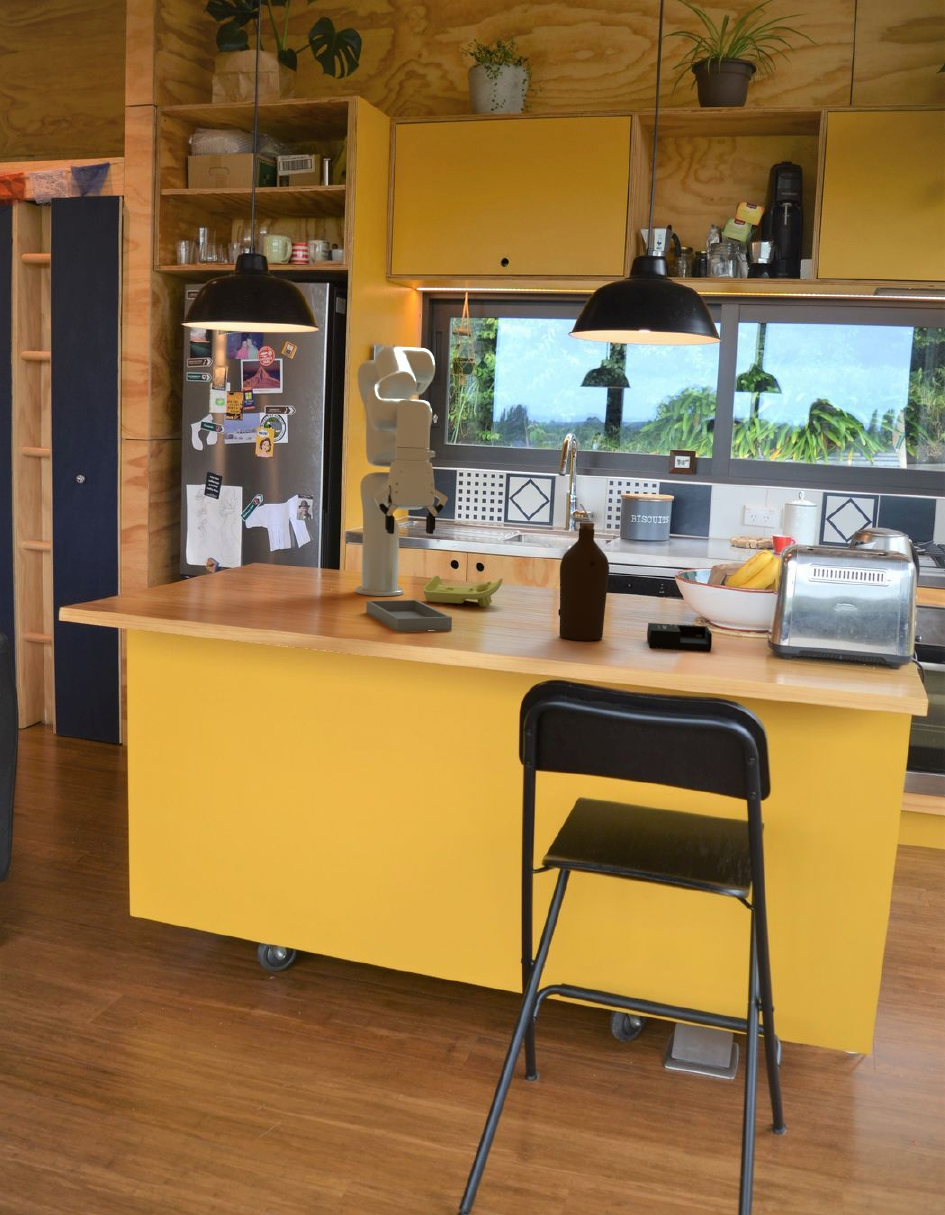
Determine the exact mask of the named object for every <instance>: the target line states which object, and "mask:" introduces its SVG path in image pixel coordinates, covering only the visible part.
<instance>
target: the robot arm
mask: <svg viewBox="0 0 945 1215" xmlns="http://www.w3.org/2000/svg"><path fill="white" fill-rule="evenodd" d="M435 373H436V362H435V357H434V355H433V353H432V352H431V351H430V350H429V349H427V348H424V347H416V346H415V347H413V346H397V345H396V346H395V345H394V346H387V347H384V348H382V349H381V350H379V352H378V353H377V355H376V356H375V359H370V360H365V361H363V362H362V363H360V365H359V366H358V368H357V387H358V390H359V391H358V392H359V395H360V399H361V401H362V403H363V407H364V411H365V455H366V459H367V462H368V463H369V465H371V466H374V467H380V468H381V467H382V468H389V471H387V472H386V471H374V472H370V473H367V474H366V475H364V476H363V478H361V481H360V484H359V485H360V489H359V490H360V491H359V492H360V499H361V506H362V553H361V554H362V556H361V558H362V560H361V585H360V586H356V587H355V593H356V594H359V595H364V596H373V597H391V596H392V597H394V596H400V595H403V594H405V592H404V590H405V589H404V588H402V587H399V558H400V556H399V555H400V554H399V553H400V552H399V551H400V525H399V523H398V520H396V518H395V516H394V513H395V512H396V510H405V511H406V510H409V511H410V510H411V511H412V510H413V511H414V510H415V511H416V510H422V509H423V508H424V509H425V510H426V512H427V514H428V515H426V517H425V518H426V520H425V533H426V534H429V535H433V534H434V531H436V517H437V516H438V514H439V513H440V512H441V511H442V510H443V509H444V507H445V505H446V503H447V501H448V500H449V498H448V496H447V495H445V494H443V493H441V492H440V491H439V490H437V489H436V488H435V477H434V475H435V474H434V470H433V469H434V468H433V464H432V462H430V461H431V459H432V458H435V457H436V452H435V451H434V450H431V448H430V446H431V445H430V444H431V443H430V441H431V440H430V438H431V437H430V436H431V425H432V422H433V410H432V407H431V404H430V402H429V401H426V400H424V399H411V398H412V397H413V396H419V395H422V394H423V393H425V391H426V390H427V388H429V386H430V384H431V383H432V381H433V380H434V378H435ZM435 498H437V499H438V502H437V504H436V505H434V504H435Z"/></svg>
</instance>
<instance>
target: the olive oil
mask: <svg viewBox="0 0 945 1215" xmlns="http://www.w3.org/2000/svg"><path fill="white" fill-rule="evenodd" d="M560 561H561V562H560V564H559V608H558V611H557V612H558V617H559V636H560V637H561V638H563V639H566V640H572V641H582V642H583V641H584V642H589V641H598V640H601V639H603V634H604V624H605V614H606V613H605V612H606V605H607V603H606V602H607V593H608V584H609V575H610V565H609V564H610V563H609V560H608V557H607V555H606V554H605V553H604V551H603V550H602V549H601V548H600V546H599V545H598V544H597V542H596V541H595V523H594V522H590V521H581V522H579V528H578V538H577V541H576V542H575V543H574V544H573V545H572V546H571V547H570V548H568V550H566V552H565V553H564V554H563V555H562V558H561V560H560Z"/></svg>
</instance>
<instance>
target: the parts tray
mask: <svg viewBox="0 0 945 1215" xmlns="http://www.w3.org/2000/svg"><path fill="white" fill-rule="evenodd" d="M365 613H366V614H367V615H368V616H371V617H372V618H373V619H375V620H377V621H379V622H380V623H382V624H383V625H386V627H389V628H390V629H392V630H393V631H395V632H396V631H397V633H415V632H414V631H425V632H429V631H428V630H451V631H452V629H453V628H452V627H453V625H452V623H453V617H452V616H451V615H449V614H446V613H444V612H442V611H440V610H438V609H436V608H434V607H432V606H430V605H428V604H426V603H424V602H422V601H419V600H417V599H403V600H401V599H398V600H395V599H394V600H390V599H389V600H366V609H365ZM411 631H413V632H411Z"/></svg>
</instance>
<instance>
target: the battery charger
mask: <svg viewBox="0 0 945 1215" xmlns="http://www.w3.org/2000/svg"><path fill="white" fill-rule="evenodd" d="M646 639H647V644H648V647H649V649H651V650H652V649H653V650H654V649H655V650H671V651H685V652H687V651H688V652H701V653H702V652H703V653H704V652H705V653H710V652H711V650H712V647H713V646H712V642H713V641H712V640H713V634H712V632H711V630H710V629H709V627H708V626H707V625H695V624H694V625H693V624H676V623H673V624H672V623H658V622H657V623H655V622H648V624H647V632H646Z"/></svg>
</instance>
